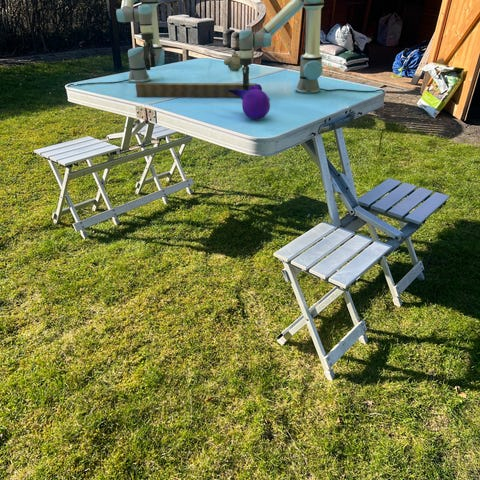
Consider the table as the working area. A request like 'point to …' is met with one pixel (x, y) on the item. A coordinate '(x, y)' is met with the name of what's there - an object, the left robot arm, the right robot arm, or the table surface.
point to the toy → (254, 102)
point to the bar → (189, 89)
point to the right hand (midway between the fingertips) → (246, 96)
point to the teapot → (233, 62)
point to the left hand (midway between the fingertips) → (150, 68)
